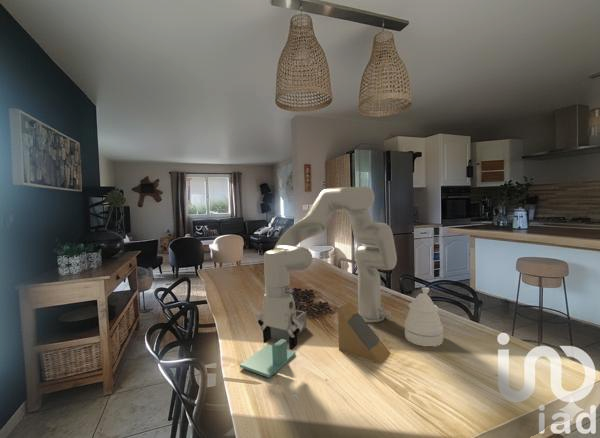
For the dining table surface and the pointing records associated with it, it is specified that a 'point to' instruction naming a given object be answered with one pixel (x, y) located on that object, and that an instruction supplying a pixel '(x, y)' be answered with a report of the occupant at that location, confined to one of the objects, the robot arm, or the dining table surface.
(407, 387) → the dining table surface
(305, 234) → the robot arm
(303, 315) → the tub
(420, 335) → the honey pot
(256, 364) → the lid
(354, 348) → the sandwich container
